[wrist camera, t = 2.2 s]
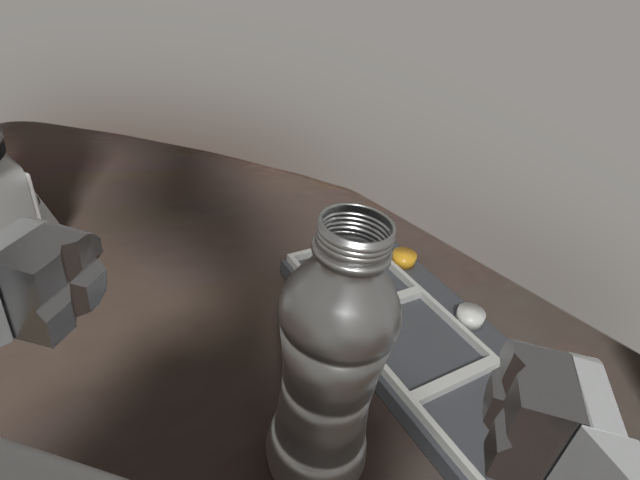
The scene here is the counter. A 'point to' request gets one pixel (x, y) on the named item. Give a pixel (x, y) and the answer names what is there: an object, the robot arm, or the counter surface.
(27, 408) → the counter surface
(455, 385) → the board
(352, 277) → the plastic bottle
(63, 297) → the robot arm
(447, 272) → the counter surface
